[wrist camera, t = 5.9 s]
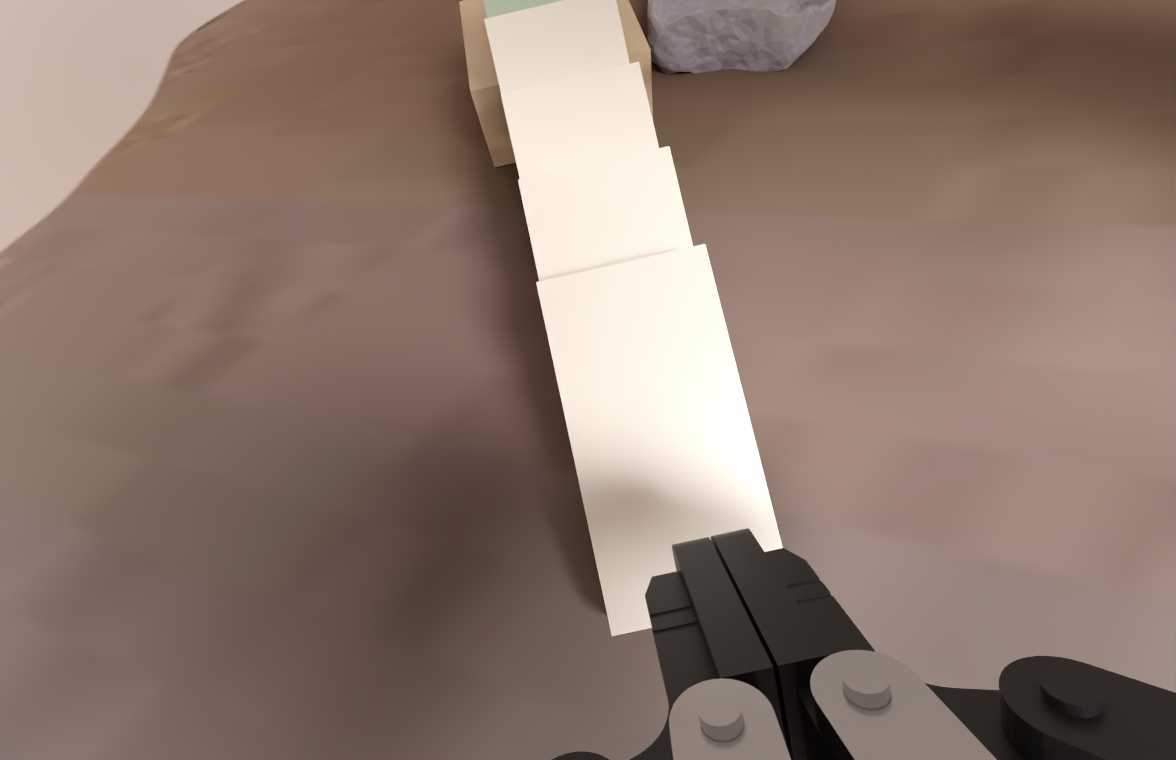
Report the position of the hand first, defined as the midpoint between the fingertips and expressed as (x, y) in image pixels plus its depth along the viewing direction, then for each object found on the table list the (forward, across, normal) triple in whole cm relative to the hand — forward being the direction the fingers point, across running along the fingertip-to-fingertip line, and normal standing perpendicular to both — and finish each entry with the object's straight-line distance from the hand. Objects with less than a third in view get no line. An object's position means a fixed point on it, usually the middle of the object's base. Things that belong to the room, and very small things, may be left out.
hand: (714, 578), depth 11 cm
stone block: (+26, -11, -17) cm, 33 cm away
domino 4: (+4, 0, +4) cm, 6 cm away
